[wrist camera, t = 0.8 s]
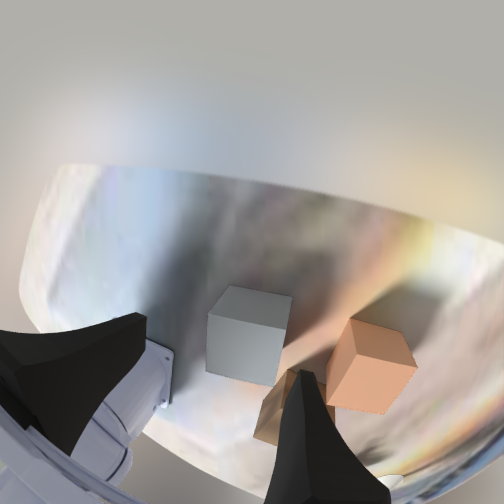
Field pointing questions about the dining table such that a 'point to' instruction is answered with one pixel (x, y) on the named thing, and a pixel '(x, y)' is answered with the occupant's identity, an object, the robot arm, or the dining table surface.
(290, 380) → the walnut block
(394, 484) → the champagne flute
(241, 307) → the slate grey block
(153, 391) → the robot arm
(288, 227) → the dining table surface
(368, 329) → the terracotta block
